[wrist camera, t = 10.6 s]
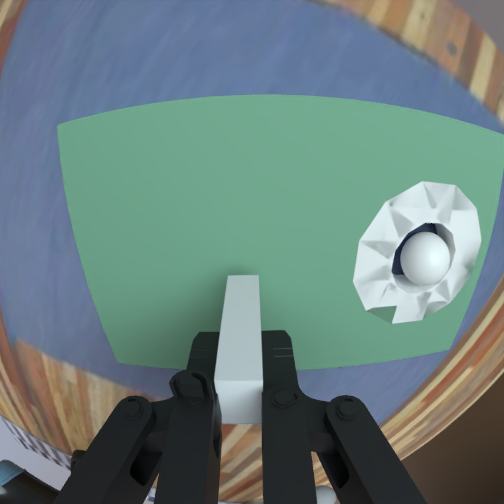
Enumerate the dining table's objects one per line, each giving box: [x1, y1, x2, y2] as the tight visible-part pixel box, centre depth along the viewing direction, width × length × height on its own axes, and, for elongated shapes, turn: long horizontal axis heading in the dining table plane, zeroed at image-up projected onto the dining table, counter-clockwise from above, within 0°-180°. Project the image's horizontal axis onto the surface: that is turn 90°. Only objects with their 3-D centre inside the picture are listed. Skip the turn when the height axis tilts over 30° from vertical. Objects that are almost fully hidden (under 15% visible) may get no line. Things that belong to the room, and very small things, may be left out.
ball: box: [400, 232, 450, 286], centre depth 17 cm, size 4×4×4 cm
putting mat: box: [57, 95, 504, 370], centre depth 17 cm, size 28×18×2 cm, turn 91°
